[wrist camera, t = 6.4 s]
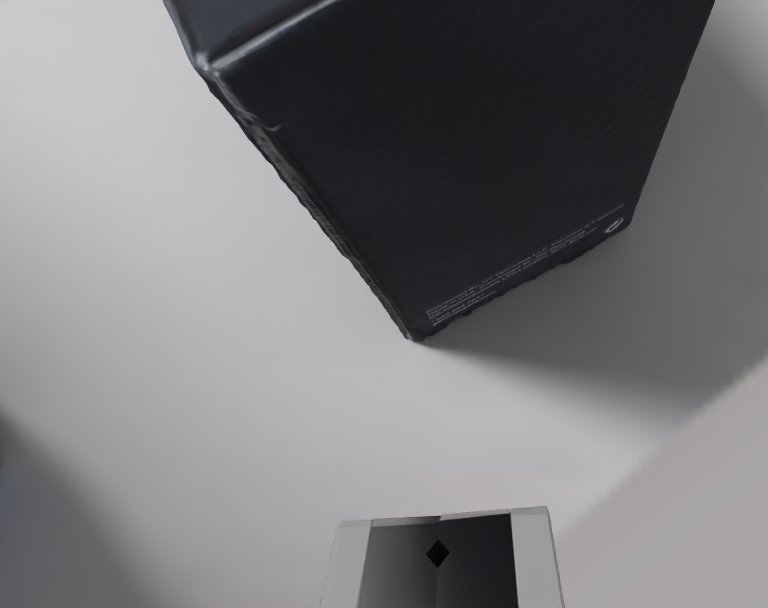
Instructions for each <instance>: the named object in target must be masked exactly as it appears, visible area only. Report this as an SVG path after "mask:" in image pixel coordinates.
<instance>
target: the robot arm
mask: <svg viewBox="0 0 768 608" xmlns="http://www.w3.org/2000/svg"><path fill="white" fill-rule="evenodd" d="M319 608H565V607H564V601H563V595H562V589H561V583H560V576H559V571H558V564H557V558H556V552H555V546H554V540H553V534H552V528H551V521H550V515H549V511H548V508H547V507H546V506H541V507H528V508H516V509H511V512H510V509H500V510H489V511H477V512H466V513H455V514H443V515H441V516H424V517H404V518H383V519H372V520H354V521H342V522H341V523H340V525H339V527H338V529H337V530H336V534H335V538H334V543H333V548H332V552H331V557H330V561H329V566H328V571H327V575H326V580H325V584H324V589H323V593H322V598H321V603H320V607H319Z"/></svg>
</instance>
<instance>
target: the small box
mask: <svg viewBox="0 0 768 608" xmlns="http://www.w3.org/2000/svg"><path fill="white" fill-rule="evenodd" d="M714 2H715V0H163V3H164V5H165V7H166V9H167V11H168V13H169V15H170V17H171V19H172V21H173V23H174V25H175V27H176V30H177V32H178V35H179V37H180V39H181V42H182V44H183V46H184V49H185V51H186V53H187V56H188V58H189V60H190V62H191V64H192V66H193V68H194V69H195V70H196V71H197V73H198V74H199V75H200V76H201V77H202V78H203V80H204V81H205V82H206V84H207V86H208V88H209V90H210V92H211V93H212V94H213V95H214V96H215V97H216V98H217V99H218V100H219V101H220V102H221V103H222V104H223V106H224V107H225V108H226V109H227V111H228V112H229V113H230V114H231V116H232V117H233V118H234V119H235V121H236V122H237V123H238V124H239V126H240V127H241V129H242V130H243V132H244V133H245V135H246V136H247V138H248V139H249V140H250V141H251V142H252V143H253V144H254V146H255V147H256V148H257V149H258V150H259V151H260V152H261V154H262V155H263V156H264V158H265V159H266V160H267V161H268V162H269V163H270V164H272V165H273V167H274V168H275V170H276V171H277V173H278V175H279V177H280V178H281V180H282V181H283V182H284V183H286V185H287V186H288V188H289V189H290V190H291V191H292V192H293V193H294V194H295V195H296V196H297V198H298V200H299V202H300V203H301V204H302V205H303V206H304V207H305V208H306V209H308V211H309V213H310V214H311V216H312V217H313V219H315V220H316V221H317V222H318V224H319V225H320V227H321V229H322V230H323V232H324V233H325V234H326V235H327V236H328V237H329V238H330V240H331V241H332V242H333V243H334V244H335V246H336V247H337V249H338V250H339V252H340V253H341V254H342V255H343V256H344V257H346V258H347V259H349V260H350V262H351V263H352V264H353V266H354V268H355V269H356V270H357V271H358V272H359V274H360V276H361V277H362V278H363V279H364V281H365V282H366V284H367V285H369V286H370V288H371V290H372V292H373V293H374V294H375V295H376V296H377V297H378V299H379V301H380V302H381V303H382V305H383V306H384V308H385V309H386V310H387V312H388V313H389V315H390V317H391V319H392V320H393V321H394V322H395V324H396V325H397V326H398V327H399V329H400V331H401V332H402V333H403V335H404V337H405V338H406V339H410V340H413V341H419V342H422V341H423V340H424V339H425V337H427V336H433V335H435V334H436V333H438V332H439V331H440V330H442V329H444V328H445V327H446V326H447V325H448V324H449V323H450V322H452V321H453V320H455V319H456V318H459V317H461V316H468V315H469V314H471V312H472V311H473V310H474V309H476V308H478V307H480V306H482V305H484V304H485V303H487V302H489V301H491V300H493V299H494V298H496V297H498V296H502V295H504V294H505V293H506V292H507V291H509V290H510V289H513V288H515V287H517V286H519V285H520V284H522V283H524V282H527V281H530V280H533V279H535V278H536V277H537V276H538V275H540V274H542V273H544V272H545V271H547V270H549V269H552V268H554V267H555V266H556V265H558V264H564V263H569V262H571V261H573V260H574V259H575V258H576V257H579V256H581V255H583V254H584V253H585V252H586V251H588V250H590V249H593V248H594V247H595V246H596V245H598V244H599V243H601V242H603V241H604V240H605V239H607V238H608V237H609V236H611V235H613V234H615V233H617V232H619V231H621V230H623V229H625V228H626V227H627V226H628V225H629V224H630V223H631V220H632V216H633V213H634V210H635V207H636V205H637V202H638V200H639V198H640V195H641V192H642V188H643V186H644V184H645V182H646V179H647V176H648V174H649V171H650V168H651V165H652V162H653V160H654V157H655V155H656V152H657V150H658V147H659V145H660V142H661V139H662V136H663V133H664V131H665V128H666V126H667V123H668V121H669V118H670V116H671V113H672V110H673V107H674V104H675V101H676V100H677V98H678V95H679V92H680V89H681V86H682V84H683V82H684V80H685V78H686V74H687V71H688V68H689V65H690V63H691V60H692V58H693V55H694V53H695V50H696V48H697V45H698V43H699V40H700V38H701V35H702V33H703V30H704V28H705V25H706V23H707V20H708V18H709V15H710V13H711V10H712V8H713V5H714Z"/></svg>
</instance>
